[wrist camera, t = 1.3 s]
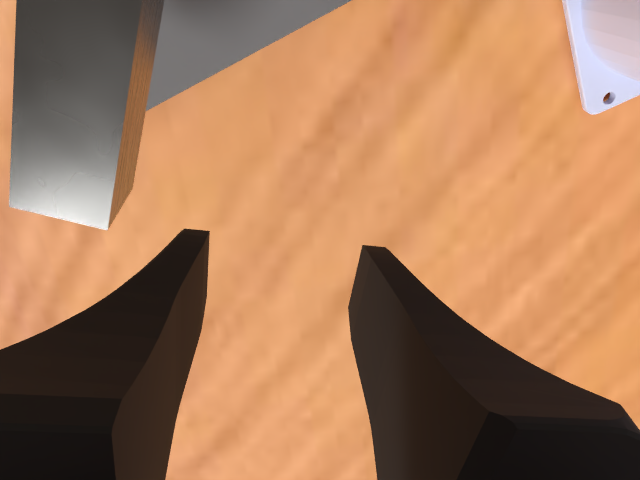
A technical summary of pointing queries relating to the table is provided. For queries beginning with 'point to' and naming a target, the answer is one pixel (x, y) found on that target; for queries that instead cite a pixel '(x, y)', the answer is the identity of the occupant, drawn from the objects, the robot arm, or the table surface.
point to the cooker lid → (80, 104)
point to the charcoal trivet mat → (220, 37)
